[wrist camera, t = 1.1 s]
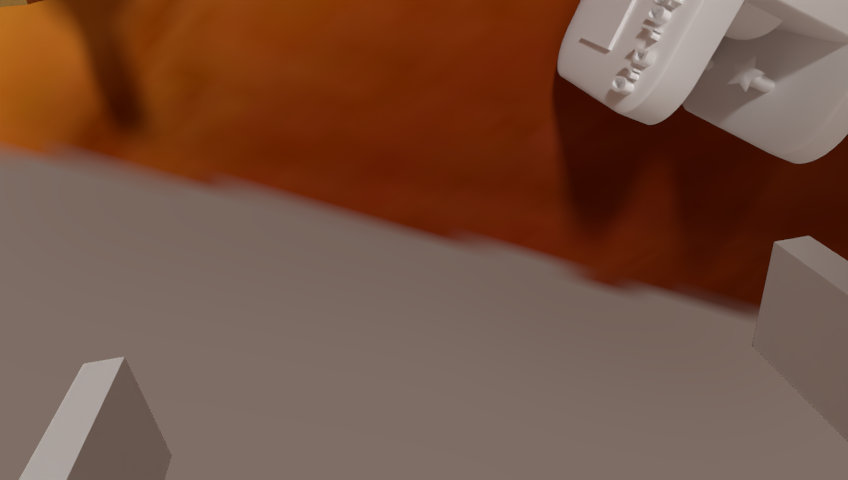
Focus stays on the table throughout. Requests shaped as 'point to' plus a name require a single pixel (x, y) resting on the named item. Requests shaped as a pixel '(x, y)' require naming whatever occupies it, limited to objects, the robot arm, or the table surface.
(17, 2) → the screw
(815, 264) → the robot arm
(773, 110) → the cable organizer
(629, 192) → the table surface
